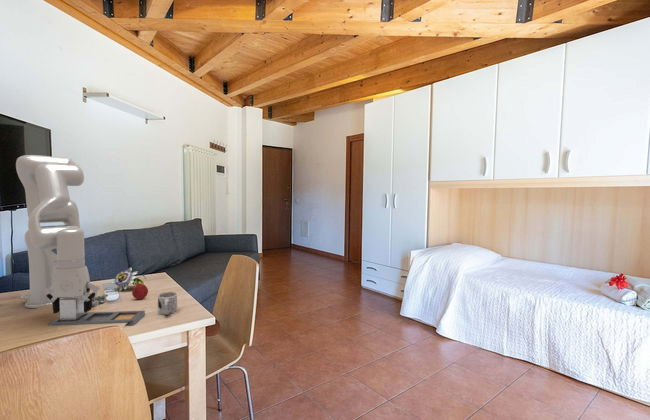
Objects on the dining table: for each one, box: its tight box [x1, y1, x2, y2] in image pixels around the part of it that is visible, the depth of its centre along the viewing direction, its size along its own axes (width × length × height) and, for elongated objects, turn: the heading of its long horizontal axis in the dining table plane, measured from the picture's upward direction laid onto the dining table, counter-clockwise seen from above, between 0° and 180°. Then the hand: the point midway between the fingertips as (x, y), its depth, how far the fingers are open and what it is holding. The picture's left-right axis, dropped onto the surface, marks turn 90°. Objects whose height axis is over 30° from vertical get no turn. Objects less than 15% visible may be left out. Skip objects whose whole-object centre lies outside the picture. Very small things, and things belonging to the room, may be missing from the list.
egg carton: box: [92, 294, 109, 307], centre depth 127 cm, size 11×8×4 cm
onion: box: [131, 282, 149, 300], centre depth 133 cm, size 6×6×8 cm
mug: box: [157, 291, 178, 316], centre depth 120 cm, size 10×7×7 cm, turn 22°
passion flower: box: [111, 267, 147, 292], centre depth 148 cm, size 11×11×12 cm
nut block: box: [59, 297, 85, 322], centre depth 110 cm, size 5×5×8 cm
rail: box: [47, 310, 146, 327], centre depth 112 cm, size 27×9×2 cm, turn 98°
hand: (72, 311), depth 110 cm, fingers open, 9 cm apart
